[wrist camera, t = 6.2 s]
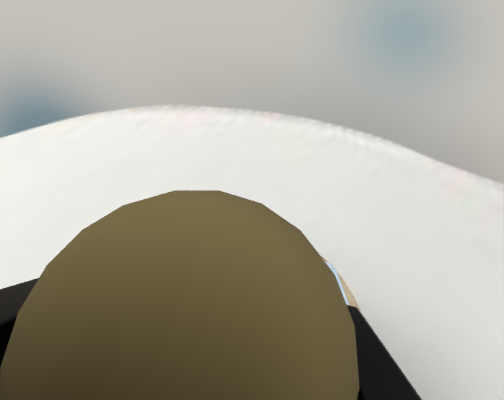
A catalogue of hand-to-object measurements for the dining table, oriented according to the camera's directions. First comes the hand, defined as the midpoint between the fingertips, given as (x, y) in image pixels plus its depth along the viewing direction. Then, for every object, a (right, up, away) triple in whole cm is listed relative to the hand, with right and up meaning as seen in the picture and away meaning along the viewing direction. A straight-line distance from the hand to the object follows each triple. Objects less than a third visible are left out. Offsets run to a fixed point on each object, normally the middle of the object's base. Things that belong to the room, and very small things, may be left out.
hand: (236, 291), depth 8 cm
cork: (0, -4, +6) cm, 7 cm away
